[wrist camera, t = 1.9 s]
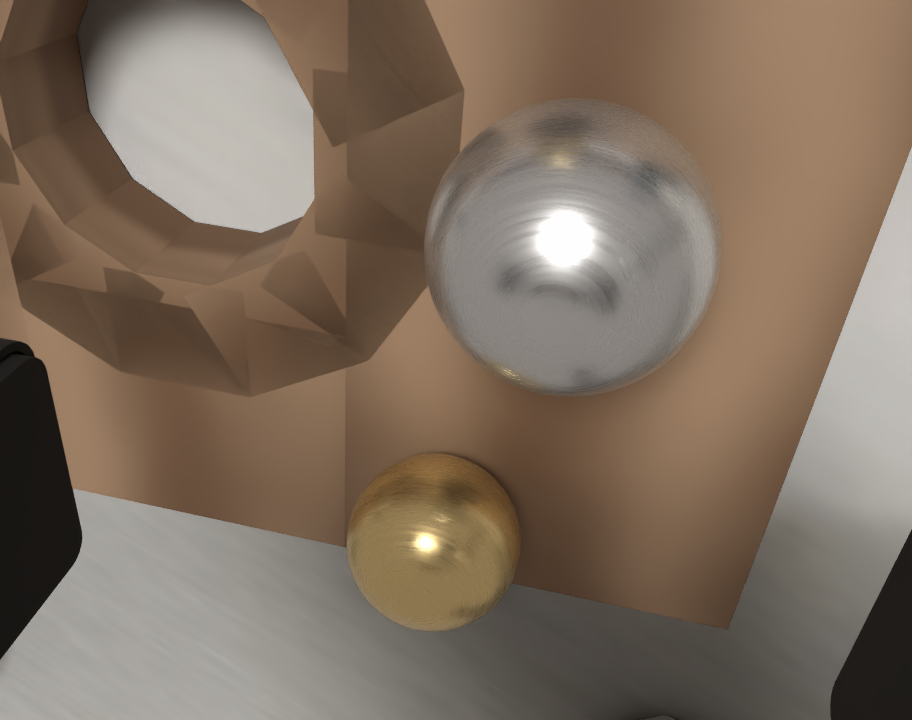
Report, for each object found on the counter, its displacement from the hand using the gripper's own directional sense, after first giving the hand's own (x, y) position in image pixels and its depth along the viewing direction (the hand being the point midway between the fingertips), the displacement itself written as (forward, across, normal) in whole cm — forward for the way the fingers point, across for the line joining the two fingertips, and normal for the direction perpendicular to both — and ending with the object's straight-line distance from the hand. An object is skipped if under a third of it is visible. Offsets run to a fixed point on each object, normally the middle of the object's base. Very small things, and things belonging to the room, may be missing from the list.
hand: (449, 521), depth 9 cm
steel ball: (+7, -1, 0) cm, 7 cm away
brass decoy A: (+7, +1, +8) cm, 11 cm away
